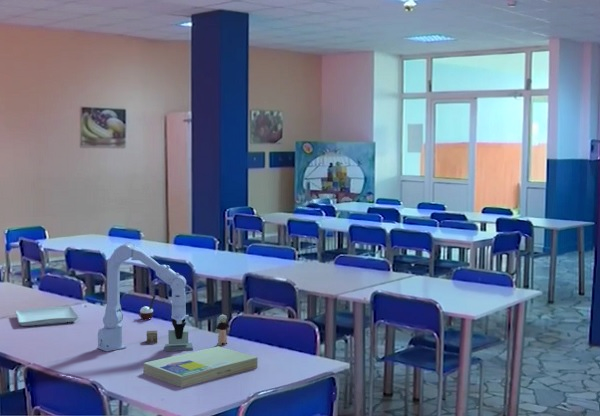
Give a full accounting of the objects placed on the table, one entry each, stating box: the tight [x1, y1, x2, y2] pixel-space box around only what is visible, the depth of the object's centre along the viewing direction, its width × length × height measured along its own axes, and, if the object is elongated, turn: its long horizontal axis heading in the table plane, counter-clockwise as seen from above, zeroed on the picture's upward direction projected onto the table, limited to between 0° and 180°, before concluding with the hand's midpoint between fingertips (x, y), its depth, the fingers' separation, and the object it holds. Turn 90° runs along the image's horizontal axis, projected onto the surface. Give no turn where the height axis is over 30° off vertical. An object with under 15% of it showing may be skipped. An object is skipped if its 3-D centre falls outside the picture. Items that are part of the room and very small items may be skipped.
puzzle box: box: [142, 345, 258, 388], centre depth 278 cm, size 36×5×24 cm
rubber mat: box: [164, 342, 194, 352], centre depth 310 cm, size 11×8×1 cm
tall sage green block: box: [167, 328, 189, 344], centre depth 309 cm, size 8×4×5 cm, turn 101°
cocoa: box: [138, 295, 156, 320], centre depth 364 cm, size 10×6×12 cm, turn 44°
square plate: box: [14, 306, 80, 327], centre depth 361 cm, size 27×27×4 cm
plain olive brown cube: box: [146, 330, 158, 344], centre depth 320 cm, size 5×4×4 cm
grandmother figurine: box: [214, 314, 231, 346], centre depth 317 cm, size 8×4×13 cm, turn 143°
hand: (178, 337), depth 310 cm, fingers closed on tall sage green block, 4 cm apart
